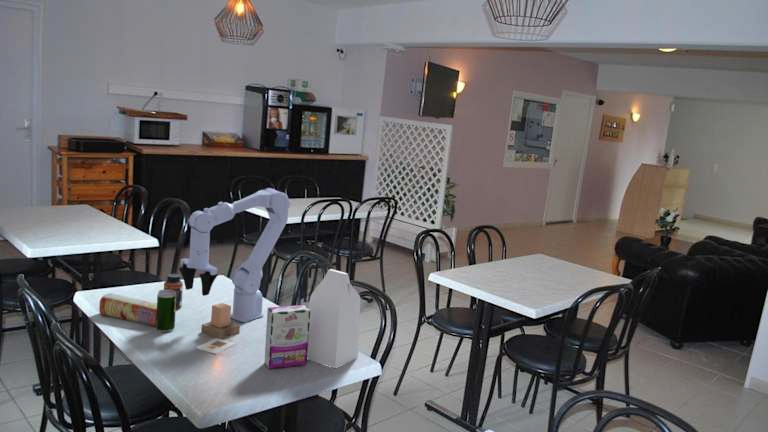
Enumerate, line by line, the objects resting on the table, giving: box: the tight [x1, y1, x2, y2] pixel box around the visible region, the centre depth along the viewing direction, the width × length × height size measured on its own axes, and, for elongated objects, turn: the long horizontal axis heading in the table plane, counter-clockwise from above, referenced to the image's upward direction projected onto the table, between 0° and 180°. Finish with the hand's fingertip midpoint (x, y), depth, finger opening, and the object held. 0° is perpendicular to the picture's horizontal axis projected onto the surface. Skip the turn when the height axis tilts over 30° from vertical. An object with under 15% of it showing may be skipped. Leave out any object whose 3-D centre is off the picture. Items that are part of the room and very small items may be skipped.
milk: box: [307, 268, 361, 369], centre depth 176 cm, size 12×12×26 cm
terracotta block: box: [210, 302, 232, 328], centre depth 187 cm, size 4×4×6 cm
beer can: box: [155, 288, 176, 333], centre depth 184 cm, size 5×5×12 cm
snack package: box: [98, 292, 157, 328], centre depth 191 cm, size 21×7×7 cm, turn 75°
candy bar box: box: [264, 304, 310, 370], centre depth 169 cm, size 11×5×16 cm, turn 117°
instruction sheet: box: [195, 338, 236, 355], centre depth 177 cm, size 9×7×1 cm
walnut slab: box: [201, 321, 241, 340], centre depth 187 cm, size 8×8×3 cm
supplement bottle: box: [163, 273, 184, 311], centre depth 203 cm, size 6×6×11 cm
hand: (197, 291), depth 191 cm, fingers open, 7 cm apart
